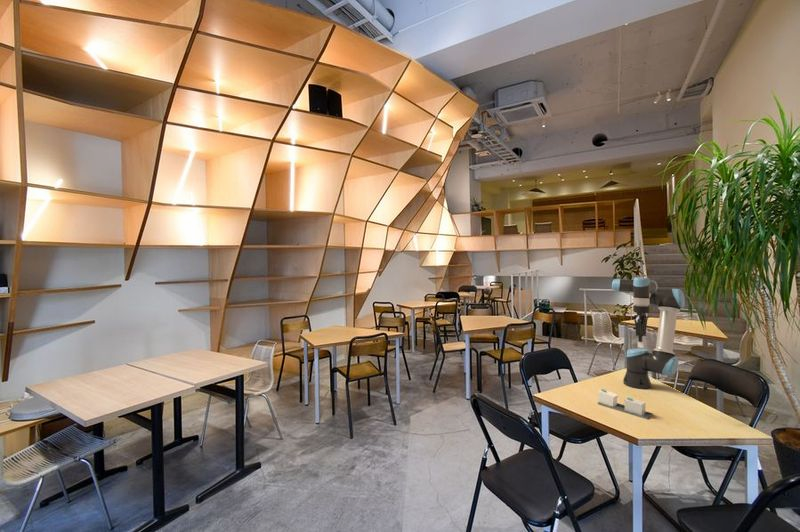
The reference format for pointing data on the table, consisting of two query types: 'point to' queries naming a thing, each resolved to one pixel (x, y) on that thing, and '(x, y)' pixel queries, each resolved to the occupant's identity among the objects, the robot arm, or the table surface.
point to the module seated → (635, 406)
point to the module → (607, 398)
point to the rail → (622, 409)
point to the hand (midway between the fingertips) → (640, 347)
